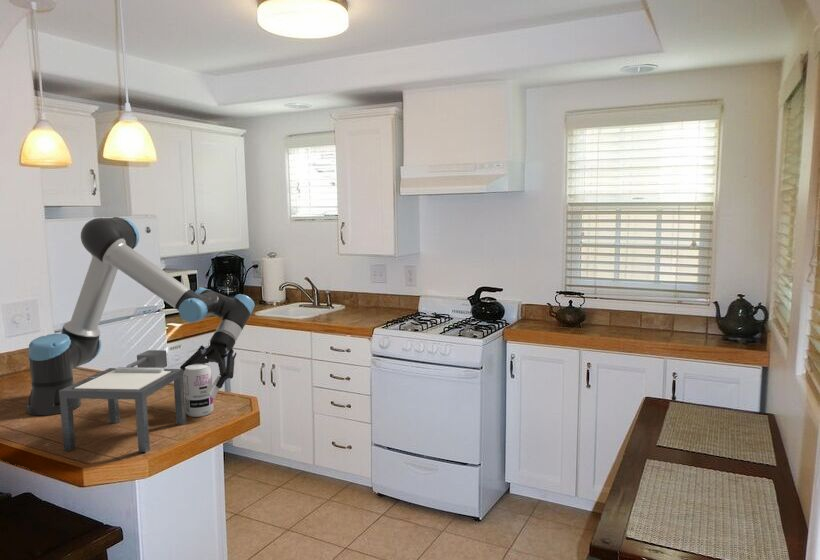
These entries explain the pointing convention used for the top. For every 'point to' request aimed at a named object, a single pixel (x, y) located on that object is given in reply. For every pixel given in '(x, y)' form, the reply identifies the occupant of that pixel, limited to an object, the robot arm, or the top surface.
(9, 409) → the top surface
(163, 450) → the top surface
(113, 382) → the trapdoor
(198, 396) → the supplement can
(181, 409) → the stand
